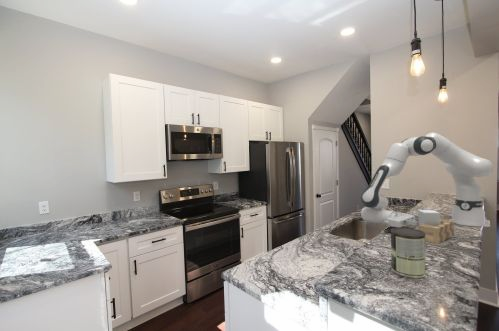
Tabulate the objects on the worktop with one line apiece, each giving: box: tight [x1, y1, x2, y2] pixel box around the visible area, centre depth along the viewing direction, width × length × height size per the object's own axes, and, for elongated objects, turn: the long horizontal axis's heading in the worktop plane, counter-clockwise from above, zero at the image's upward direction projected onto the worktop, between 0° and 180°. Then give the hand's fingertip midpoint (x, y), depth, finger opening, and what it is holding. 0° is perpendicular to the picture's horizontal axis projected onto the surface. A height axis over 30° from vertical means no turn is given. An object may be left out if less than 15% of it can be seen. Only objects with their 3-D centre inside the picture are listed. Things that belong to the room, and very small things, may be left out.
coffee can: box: [390, 227, 427, 279], centre depth 87 cm, size 10×10×14 cm
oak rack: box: [417, 219, 455, 245], centre depth 124 cm, size 21×8×7 cm, turn 126°
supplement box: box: [417, 209, 442, 226], centre depth 127 cm, size 7×7×13 cm
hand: (417, 223), depth 131 cm, fingers closed
